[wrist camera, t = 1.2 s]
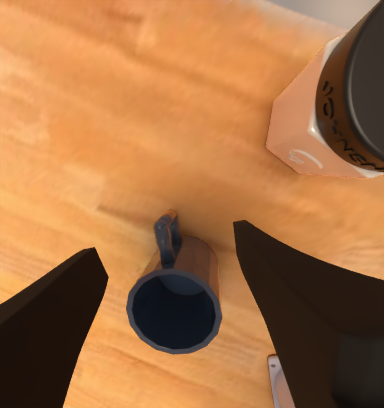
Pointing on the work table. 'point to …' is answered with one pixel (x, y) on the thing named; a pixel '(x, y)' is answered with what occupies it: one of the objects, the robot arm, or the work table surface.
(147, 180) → the work table surface
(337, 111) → the jar
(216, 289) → the mug
